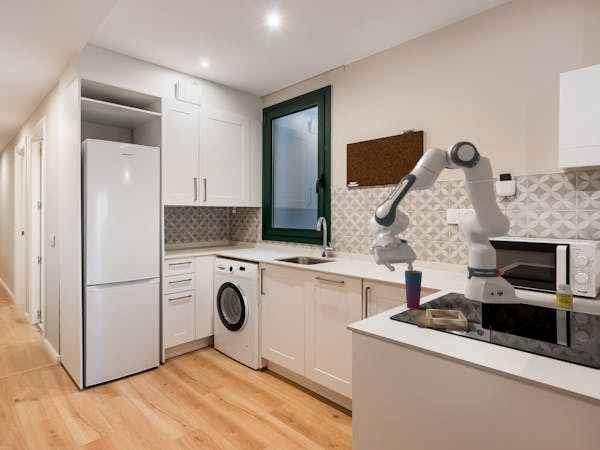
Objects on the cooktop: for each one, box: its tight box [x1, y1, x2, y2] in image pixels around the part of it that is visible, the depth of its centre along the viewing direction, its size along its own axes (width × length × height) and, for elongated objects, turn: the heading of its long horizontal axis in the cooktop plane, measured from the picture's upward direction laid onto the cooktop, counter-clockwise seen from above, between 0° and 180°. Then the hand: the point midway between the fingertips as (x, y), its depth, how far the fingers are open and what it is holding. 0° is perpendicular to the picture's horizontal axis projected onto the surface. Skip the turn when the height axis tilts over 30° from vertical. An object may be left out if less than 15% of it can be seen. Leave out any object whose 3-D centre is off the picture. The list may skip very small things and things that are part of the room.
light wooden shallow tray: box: [413, 308, 469, 332], centre depth 128 cm, size 16×18×3 cm
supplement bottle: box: [555, 283, 574, 311], centre depth 141 cm, size 5×5×10 cm
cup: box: [404, 269, 423, 310], centre depth 145 cm, size 7×7×15 cm
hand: (402, 270), depth 152 cm, fingers open, 8 cm apart
